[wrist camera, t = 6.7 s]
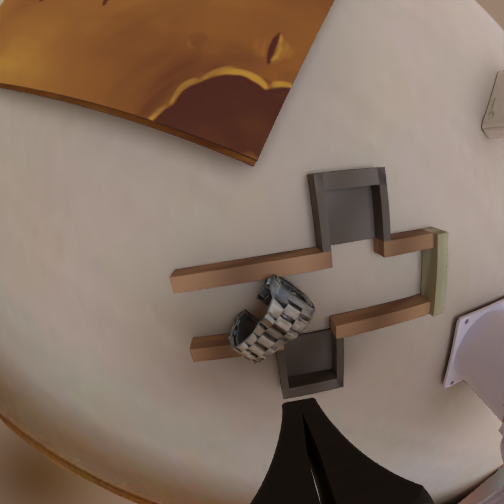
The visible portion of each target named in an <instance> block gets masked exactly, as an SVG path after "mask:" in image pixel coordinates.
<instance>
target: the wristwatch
mask: <svg viewBox="0 0 504 504" xmlns="http://www.w3.org/2000/svg"><path fill="white" fill-rule="evenodd" d="M256 298H258V299H260V300H261V301H263V302H264V303H265V304H266V305H268V306H269V307H268V310H267V314H266V315H265V316H264V317H263V319H262V320H261V321H260V320H259V319H257V318H256V317H255V316H253V315H252V314H251V313H249V312H248V311H247V310H246V309H245V310H244V312H243V313H242V314H240V315H239V316H237V319H236V320H235V321H233V327H232V330H231V332H230V335H229V338H228V340H229V341H230V343H231V349H233V350H235V351H237V352H238V353H239V354H241V355H242V356H244V357H245V358H247V359H248V360H249V361H250V362H252V363H257V362H260V361H261V360H263V359H266V358H267V357H268V356H270V355H272V354H273V353H275V352H276V351H277V349H278V348H280V347H282V346H283V345H284V344H286V343H287V342H288V341H291V340H293V339H295V338H297V337H298V335H299V333H300V332H301V331H302V330H303V329H304V328H305V327H307V325H308V324H309V323H310V321H311V319H312V317H313V313H314V311H315V307H314V305H313V304H312V302H311V301H310V299H309V298H308V297H307V296H306V295H305V294H304V293H302V292H301V291H300V290H298V289H297V288H296V287H294V286H293V285H292V284H290V283H289V282H287V281H286V280H284V279H282V278H281V277H278V276H276V275H273V276H271V277H270V278H267V280H266V281H265V285H264V286H263V287H262V289H261V291H260V293H259V294H258V295H257V297H256Z"/></svg>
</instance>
